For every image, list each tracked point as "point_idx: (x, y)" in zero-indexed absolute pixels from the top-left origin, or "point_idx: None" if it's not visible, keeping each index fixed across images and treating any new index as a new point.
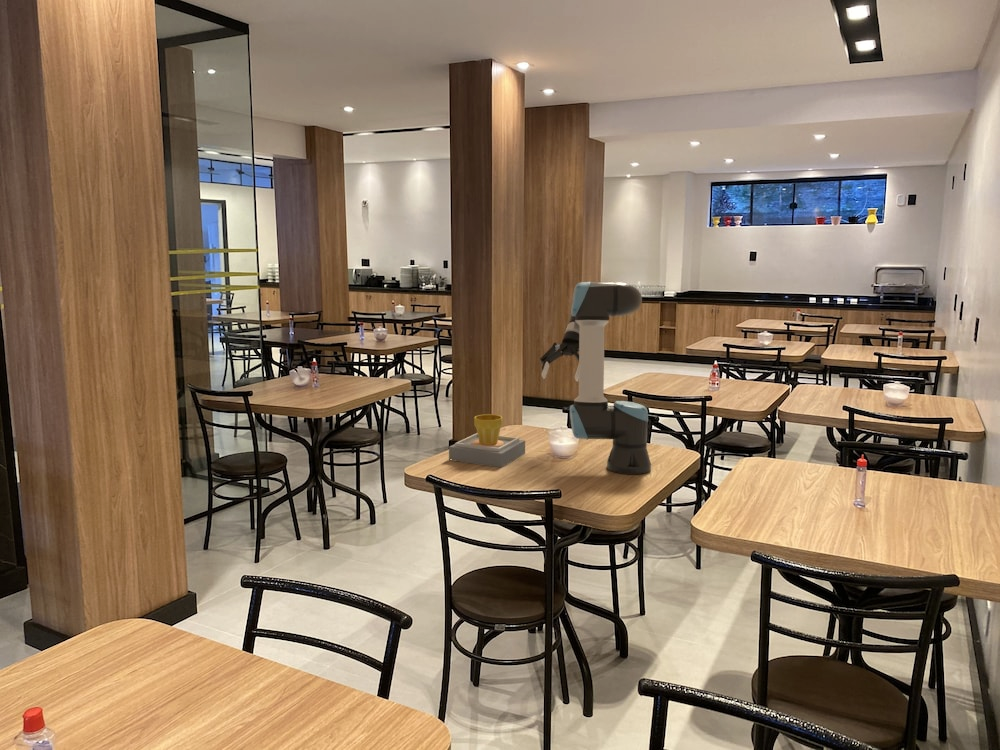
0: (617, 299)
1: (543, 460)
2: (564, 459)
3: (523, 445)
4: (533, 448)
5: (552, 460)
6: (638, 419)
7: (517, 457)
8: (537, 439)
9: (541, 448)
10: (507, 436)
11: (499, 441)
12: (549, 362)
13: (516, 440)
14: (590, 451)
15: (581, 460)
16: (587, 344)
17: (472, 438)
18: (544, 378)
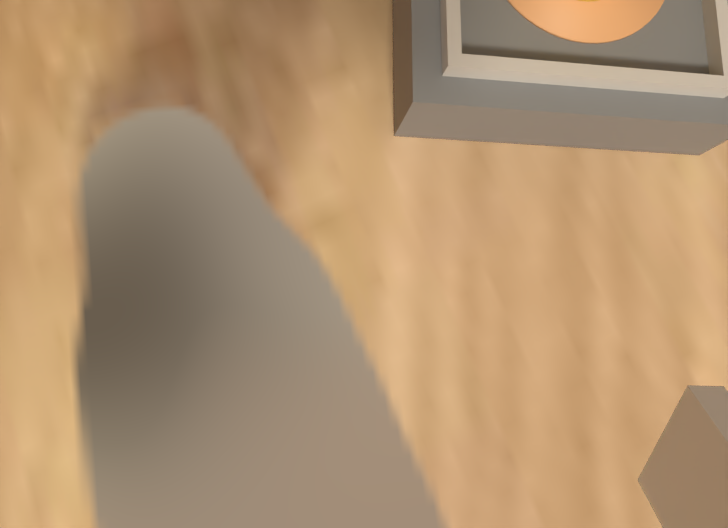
0: None
1: (239, 36)
2: (126, 100)
3: (406, 85)
4: (395, 268)
5: (189, 54)
6: None
7: (393, 29)
8: (466, 512)
9: (350, 290)
10: (531, 71)
11: (538, 6)
12: None
13: (444, 24)
14: (9, 359)
15: (15, 117)
16: None
17: (705, 11)
18: (647, 471)
